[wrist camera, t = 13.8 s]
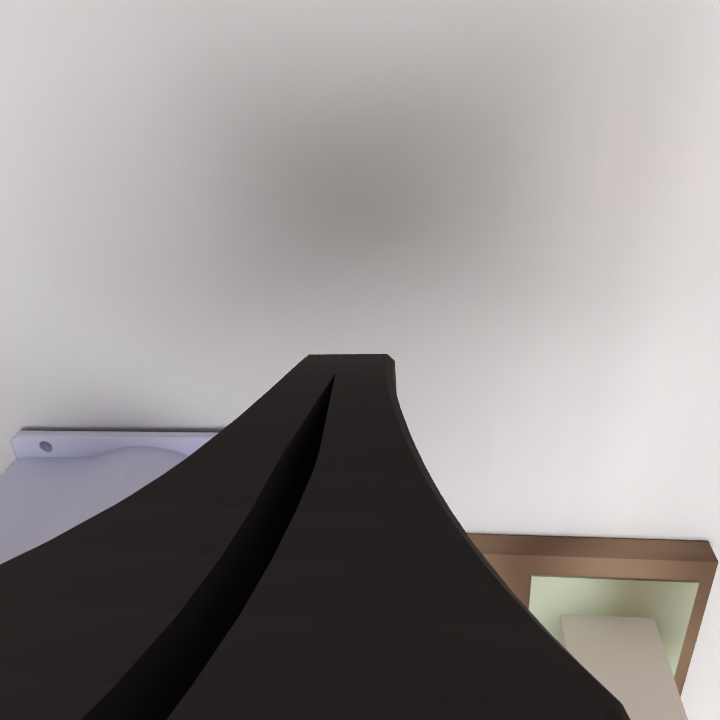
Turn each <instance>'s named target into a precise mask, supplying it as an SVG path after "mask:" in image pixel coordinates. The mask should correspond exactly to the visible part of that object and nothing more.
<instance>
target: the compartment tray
mask: <svg viewBox="0 0 720 720" xmlns="http://www.w3.org/2000/svg"><path fill="white" fill-rule="evenodd" d="M467 535H468V536H469V538H470V539H471V540H472V542H473V543H474V544H475V546H476V547H477V548H478V549H479V551H480V552H481V553H482V554H483V556H484V557H485V558H486V559H487V561H488V562H489V563H490V564H491V566H492V567H493V568H494V569H495V571H496V572H497V573H498V574H499V576H500V577H501V578H502V579H503V581H504V582H505V583H506V584H507V586H508V587H509V588H510V589H511V591H512V592H513V593H514V594H515V595H516V596H517V598H518V599H519V600H520V601H521V602H522V603H523V604H524V605H525V606H526V607H527V609H528V610H529V611H530V612H531V613H532V614H533V615H534V616H535V617H536V618H537V619H538V621H539V622H540V623H541V624H542V625H543V626H544V627H545V628H546V629H547V630H548V632H549V633H550V634H551V635H552V636H553V637H554V638H555V639H556V640H557V641H558V634H559V624H560V614H572V615H596V616H619V617H643V618H654V619H655V622H656V625H657V628H658V631H659V634H660V637H661V640H662V643H663V646H664V649H665V652H666V655H667V658H668V661H669V664H670V667H671V670H672V674H673V677H674V680H675V683H676V686H677V689H678V692H679V695H680V696H681V693H682V689H683V686H684V682H685V679H686V675H687V672H688V668H689V664H690V661H691V657H692V654H693V650H694V647H695V643H696V640H697V636H698V632H699V629H700V625H701V622H702V618H703V615H704V611H705V608H706V604H707V600H708V597H709V593H710V590H711V586H712V583H713V579H714V576H715V572H716V568H717V565H718V560H717V558H716V556H715V554H714V552H713V550H712V548H711V546H710V543H709V541H677V540H645V539H613V538H581V537H549V536H517V535H485V534H467Z"/></svg>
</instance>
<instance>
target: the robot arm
mask: <svg viewBox="0 0 720 720" xmlns="http://www.w3.org/2000/svg"><path fill="white" fill-rule="evenodd" d="M47 442H48V443H50V444H51V445H52V446H51V445H49V444H48V443H47ZM11 446H12V448H13V450H14V453H15V455H16V457H17V458H16V459H15V461H14V462H13V463H12V464H11V465H10V466H9V467H8V468H7V469H6V470H5V471H4V472H3V474H2V475H1V476H0V720H630V718H629V716H628V714H627V712H626V710H625V708H624V706H623V704H622V703H621V702H620V701H619V700H618V699H617V698H616V697H615V696H614V695H613V694H612V693H611V692H609V691H608V690H607V689H606V688H605V687H604V686H603V685H602V684H601V683H600V682H599V681H598V680H597V679H596V678H595V677H594V676H593V675H592V674H591V673H590V672H588V671H587V670H586V669H585V668H584V667H583V666H582V665H581V664H580V663H579V662H578V661H577V660H576V659H575V658H574V657H573V656H572V655H571V654H570V653H569V652H568V651H567V650H566V649H565V648H564V647H563V646H562V645H561V644H560V643H559V642H558V641H557V640H556V639H555V638H554V637H553V636H552V635H551V634H550V633H549V632H548V630H547V629H546V628H545V627H544V626H543V625H542V624H541V623H540V622H539V621H538V619H537V618H536V617H535V616H534V615H533V614H532V613H531V612H530V611H529V610H528V609H527V607H526V606H525V605H524V604H523V603H522V602H521V601H520V600H519V599H518V598H517V596H516V595H515V594H514V593H513V592H512V591H511V589H510V588H509V587H508V586H507V584H506V583H505V582H504V581H503V579H502V578H501V577H500V576H499V574H498V573H497V572H496V571H495V569H494V568H493V567H492V566H491V564H490V563H489V562H488V561H487V559H486V558H485V557H484V556H483V554H482V553H481V552H480V551H479V549H478V548H477V547H476V546H475V544H474V543H473V542H472V540H471V539H470V538H469V536H468V535H467V533H466V532H465V530H464V529H463V528H462V526H461V525H460V523H459V522H458V520H457V519H456V517H455V516H454V514H453V513H452V511H451V510H450V508H449V507H448V505H447V503H446V502H445V500H444V498H443V497H442V495H441V494H440V492H439V490H438V489H437V487H436V485H435V483H434V482H433V480H432V478H431V476H430V474H429V472H428V471H427V469H426V467H425V465H424V463H423V461H422V459H421V457H420V455H419V452H418V450H417V448H416V446H415V444H414V442H413V439H412V437H411V435H410V432H409V430H408V427H407V424H406V422H405V419H404V416H403V414H402V411H401V408H400V405H399V402H398V398H397V393H396V376H395V361H394V360H393V359H392V358H391V357H390V356H389V355H388V354H327V355H308V356H307V357H306V358H304V359H303V360H302V361H301V362H300V363H298V364H297V365H296V366H295V367H294V368H293V369H292V370H291V371H290V372H289V373H287V374H286V375H285V376H284V377H283V378H282V379H281V380H280V381H279V382H278V383H277V384H275V385H274V386H273V387H272V388H271V389H270V390H269V391H268V392H267V393H265V394H264V395H263V396H262V397H261V398H260V399H259V400H257V401H256V402H255V403H254V404H253V405H252V406H251V407H250V408H248V409H247V410H246V411H245V412H244V413H243V414H242V415H240V416H239V417H238V418H237V419H236V420H234V421H233V422H232V423H231V424H229V425H228V426H227V427H225V428H224V429H223V430H222V431H220V432H219V433H212V432H107V431H19V432H18V433H16V434H15V435H14V436H13V437H12V439H11Z"/></svg>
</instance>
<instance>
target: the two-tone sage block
mask: <svg viewBox="0 0 720 720" xmlns="http://www.w3.org/2000/svg"><path fill="white" fill-rule="evenodd" d="M558 642H559V643H560V644H561V645H562V646H563V647H564V648H565V649H566V650H567V651H568V652H569V653H570V654H571V655H572V656H573V657H574V658H575V659H576V660H577V661H578V662H579V663H580V664H581V665H582V666H583V667H584V668H585V669H586V670H587V671H588V672H590V673H591V674H592V675H593V676H594V677H595V678H596V679H597V680H598V681H599V682H600V683H601V684H602V685H603V686H604V687H605V688H606V689H607V690H608V691H609V692H611V693H612V694H613V695H614V696H615V697H616V698H617V699H618V700H619V701H620V702H621V703H622V704H623V706H624V708H625V710H626V712H627V714H628V716H629V718H630V720H688V719H687V716H686V713H685V710H684V707H683V704H682V701H681V698H680V695H679V692H678V689H677V686H676V683H675V680H674V677H673V674H672V670H671V667H670V664H669V661H668V658H667V655H666V652H665V649H664V646H663V643H662V640H661V637H660V634H659V631H658V628H657V625H656V622H655V619H654V618H643V617H619V616H596V615H572V614H560V624H559V634H558Z"/></svg>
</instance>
